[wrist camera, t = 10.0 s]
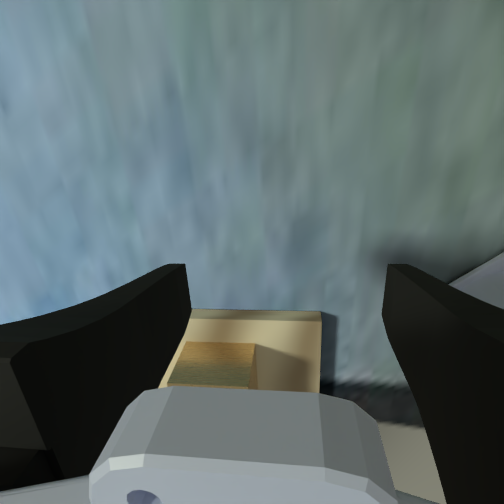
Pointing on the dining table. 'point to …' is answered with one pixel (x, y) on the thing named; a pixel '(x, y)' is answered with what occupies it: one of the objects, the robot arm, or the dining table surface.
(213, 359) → the collar
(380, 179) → the dining table surface
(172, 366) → the post stand
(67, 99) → the dining table surface
